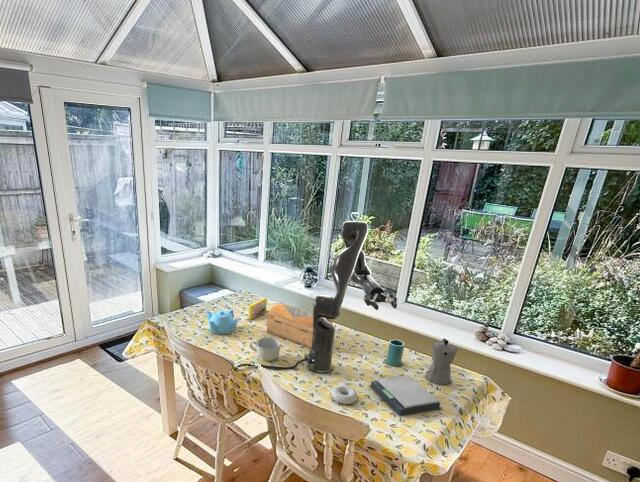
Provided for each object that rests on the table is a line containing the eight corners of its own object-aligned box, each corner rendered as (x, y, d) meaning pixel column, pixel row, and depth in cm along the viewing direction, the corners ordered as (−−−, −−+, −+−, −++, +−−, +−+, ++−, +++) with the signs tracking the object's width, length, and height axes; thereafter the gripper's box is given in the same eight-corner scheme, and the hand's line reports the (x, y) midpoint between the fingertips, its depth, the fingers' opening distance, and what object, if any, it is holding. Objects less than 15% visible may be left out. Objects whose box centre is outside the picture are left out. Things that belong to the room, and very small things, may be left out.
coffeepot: (451, 389, 165) (460, 349, 158) (426, 384, 168) (434, 345, 162) (449, 371, 179) (457, 333, 172) (426, 366, 182) (433, 330, 175)
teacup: (283, 355, 190) (283, 339, 187) (274, 365, 181) (274, 349, 178) (255, 349, 195) (255, 334, 192) (245, 359, 186) (246, 343, 183)
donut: (352, 390, 163) (327, 391, 163) (353, 383, 162) (328, 383, 161) (360, 405, 154) (334, 406, 153) (362, 397, 153) (335, 398, 152)
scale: (399, 415, 149) (400, 408, 148) (370, 386, 166) (371, 379, 165) (439, 408, 153) (440, 401, 152) (406, 380, 171) (408, 374, 170)
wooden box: (332, 339, 207) (335, 313, 201) (314, 350, 195) (317, 323, 190) (285, 322, 225) (286, 298, 220) (266, 331, 213) (267, 307, 208)
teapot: (239, 335, 210) (239, 315, 205) (209, 337, 206) (209, 317, 202) (233, 323, 223) (233, 304, 219) (206, 325, 220) (205, 306, 216)
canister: (391, 367, 181) (394, 346, 177) (383, 360, 187) (386, 340, 183) (403, 365, 183) (407, 345, 179) (395, 358, 189) (398, 339, 185)
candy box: (251, 320, 227) (251, 306, 224) (248, 319, 228) (248, 305, 225) (266, 311, 240) (266, 297, 237) (263, 310, 241) (263, 297, 238)
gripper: (359, 284, 195) (372, 301, 181) (388, 282, 196) (403, 299, 183) (357, 297, 199) (370, 315, 186) (385, 295, 201) (400, 313, 187)
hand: (386, 307), depth 184 cm, fingers open, 8 cm apart
